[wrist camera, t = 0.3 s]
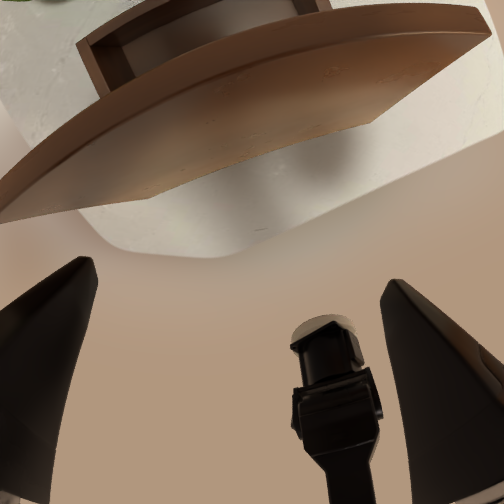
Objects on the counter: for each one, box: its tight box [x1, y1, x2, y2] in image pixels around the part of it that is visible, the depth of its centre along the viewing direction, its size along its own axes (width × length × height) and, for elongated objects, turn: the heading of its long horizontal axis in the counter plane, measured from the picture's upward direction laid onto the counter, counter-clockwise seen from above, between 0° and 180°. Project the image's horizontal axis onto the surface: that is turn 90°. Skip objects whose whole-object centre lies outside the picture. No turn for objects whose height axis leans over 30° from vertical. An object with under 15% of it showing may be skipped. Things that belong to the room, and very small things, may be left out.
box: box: [76, 0, 332, 99], centre depth 15 cm, size 11×14×6 cm
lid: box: [0, 3, 492, 224], centre depth 10 cm, size 12×14×1 cm
